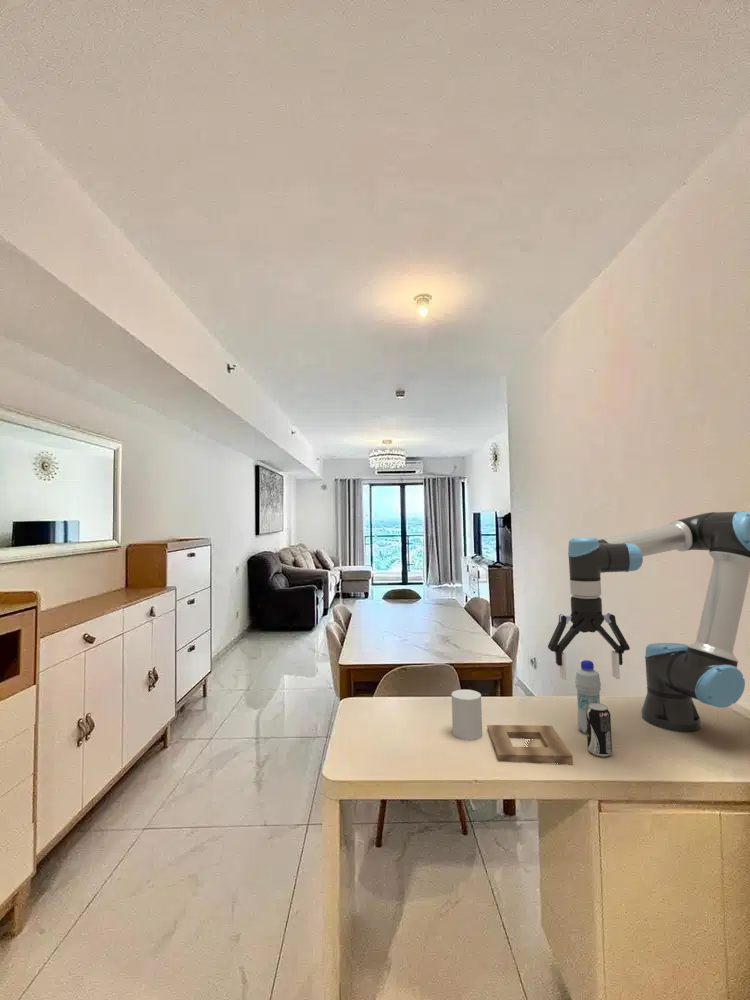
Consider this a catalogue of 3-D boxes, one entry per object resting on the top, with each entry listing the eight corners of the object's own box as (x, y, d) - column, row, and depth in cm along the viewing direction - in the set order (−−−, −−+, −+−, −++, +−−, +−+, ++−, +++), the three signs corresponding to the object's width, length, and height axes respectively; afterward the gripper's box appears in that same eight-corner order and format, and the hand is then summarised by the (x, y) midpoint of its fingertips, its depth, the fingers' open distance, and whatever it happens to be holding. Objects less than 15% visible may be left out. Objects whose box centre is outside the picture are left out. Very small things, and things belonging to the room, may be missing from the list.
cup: (485, 734, 139) (483, 691, 140) (478, 746, 132) (477, 701, 133) (457, 729, 143) (456, 688, 143) (449, 741, 136) (448, 697, 136)
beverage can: (589, 746, 131) (587, 700, 132) (613, 750, 128) (611, 704, 129) (586, 755, 126) (584, 707, 127) (611, 760, 123) (609, 711, 124)
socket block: (552, 734, 139) (551, 725, 139) (572, 765, 121) (572, 755, 121) (487, 733, 140) (487, 724, 140) (498, 764, 122) (498, 754, 122)
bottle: (605, 737, 136) (602, 664, 137) (579, 736, 137) (576, 663, 138) (599, 727, 142) (596, 657, 143) (575, 726, 144) (572, 656, 145)
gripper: (627, 593, 133) (631, 672, 132) (534, 594, 134) (537, 673, 133) (641, 597, 125) (645, 681, 124) (541, 599, 127) (545, 682, 126)
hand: (589, 677), depth 129 cm, fingers open, 13 cm apart
